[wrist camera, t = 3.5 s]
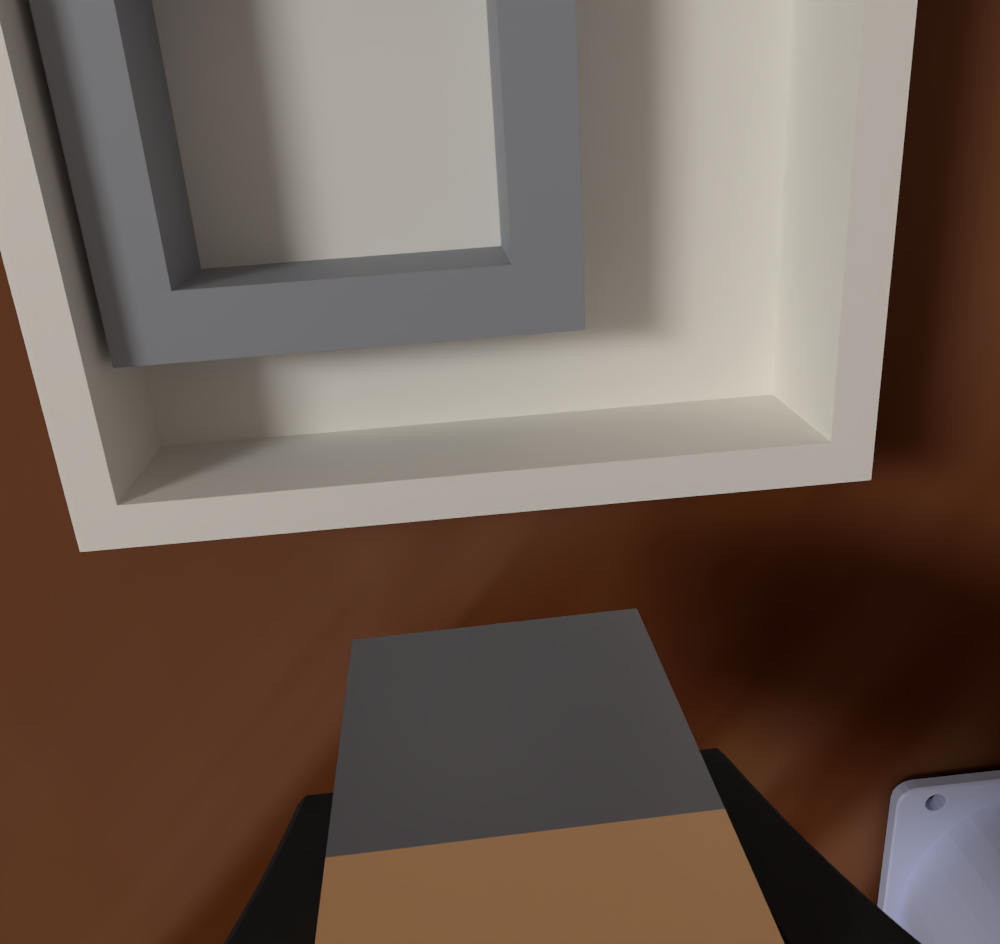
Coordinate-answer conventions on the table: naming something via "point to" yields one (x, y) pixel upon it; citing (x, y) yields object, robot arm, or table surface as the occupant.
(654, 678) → the block
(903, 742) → the table surface
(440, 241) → the walled box
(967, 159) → the table surface
